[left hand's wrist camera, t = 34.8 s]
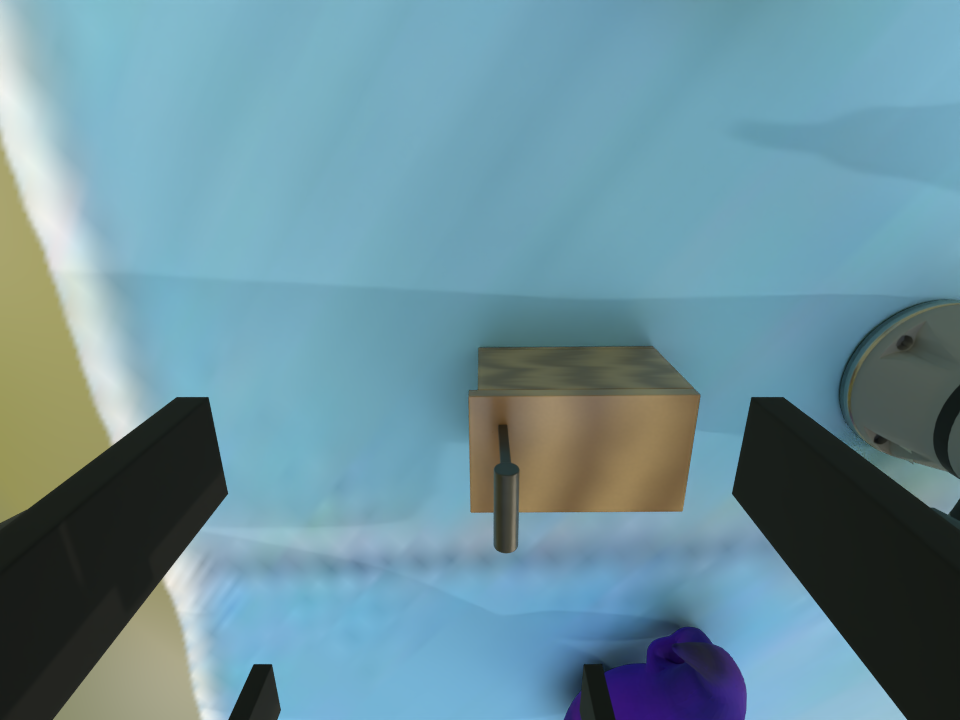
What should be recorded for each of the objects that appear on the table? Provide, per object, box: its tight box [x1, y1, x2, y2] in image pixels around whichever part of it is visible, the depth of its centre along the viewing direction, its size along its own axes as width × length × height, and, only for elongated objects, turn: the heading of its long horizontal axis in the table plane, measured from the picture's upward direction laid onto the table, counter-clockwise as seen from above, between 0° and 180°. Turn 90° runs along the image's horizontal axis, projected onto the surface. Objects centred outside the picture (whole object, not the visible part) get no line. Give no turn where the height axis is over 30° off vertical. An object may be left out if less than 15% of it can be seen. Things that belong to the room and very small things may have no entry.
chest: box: [478, 346, 694, 390], centre depth 45 cm, size 16×10×10 cm, turn 91°
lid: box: [469, 389, 700, 553], centre depth 36 cm, size 17×10×8 cm, turn 91°
